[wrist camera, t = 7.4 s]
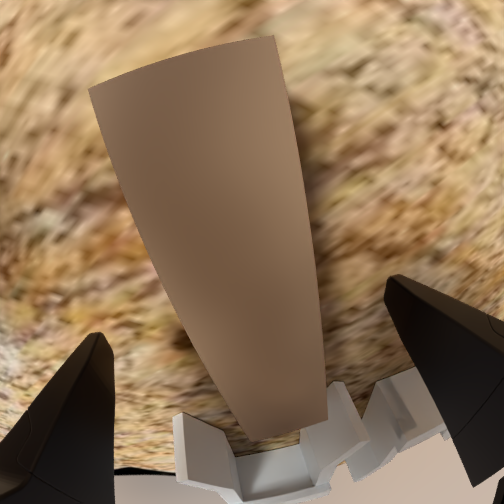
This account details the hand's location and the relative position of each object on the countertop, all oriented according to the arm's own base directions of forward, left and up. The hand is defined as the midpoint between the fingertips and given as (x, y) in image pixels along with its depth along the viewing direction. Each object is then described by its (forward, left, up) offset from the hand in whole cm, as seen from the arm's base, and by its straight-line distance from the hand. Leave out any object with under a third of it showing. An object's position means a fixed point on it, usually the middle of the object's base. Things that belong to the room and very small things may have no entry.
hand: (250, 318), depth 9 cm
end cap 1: (0, +13, -3) cm, 14 cm away
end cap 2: (-11, +15, -3) cm, 19 cm away
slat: (0, 0, -3) cm, 3 cm away
